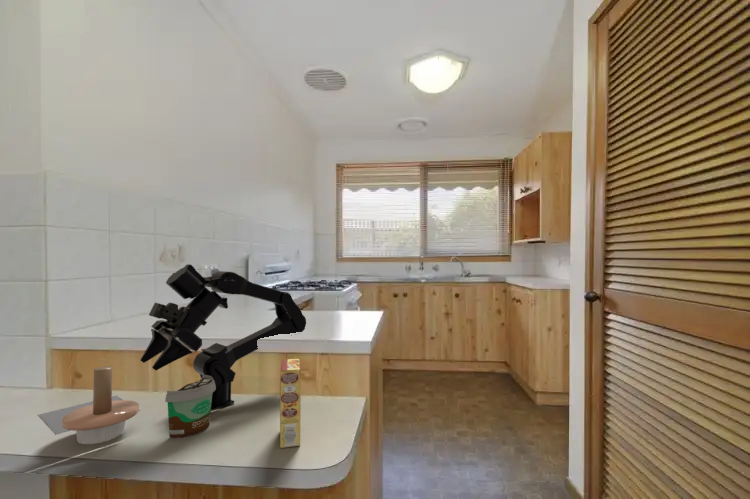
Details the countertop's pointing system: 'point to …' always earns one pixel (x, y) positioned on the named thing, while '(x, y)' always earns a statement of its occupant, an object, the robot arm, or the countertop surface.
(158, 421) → the countertop surface
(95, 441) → the ramekin
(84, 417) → the lid
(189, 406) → the food container
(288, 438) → the candy box
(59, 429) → the mat
